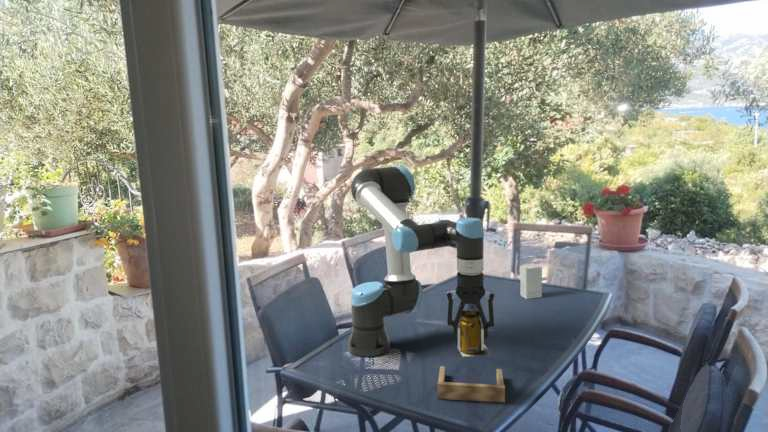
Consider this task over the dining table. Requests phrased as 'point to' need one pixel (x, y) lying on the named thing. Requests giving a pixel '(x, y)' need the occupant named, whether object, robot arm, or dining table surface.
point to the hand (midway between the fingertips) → (470, 347)
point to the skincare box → (531, 281)
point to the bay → (471, 389)
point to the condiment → (471, 334)
